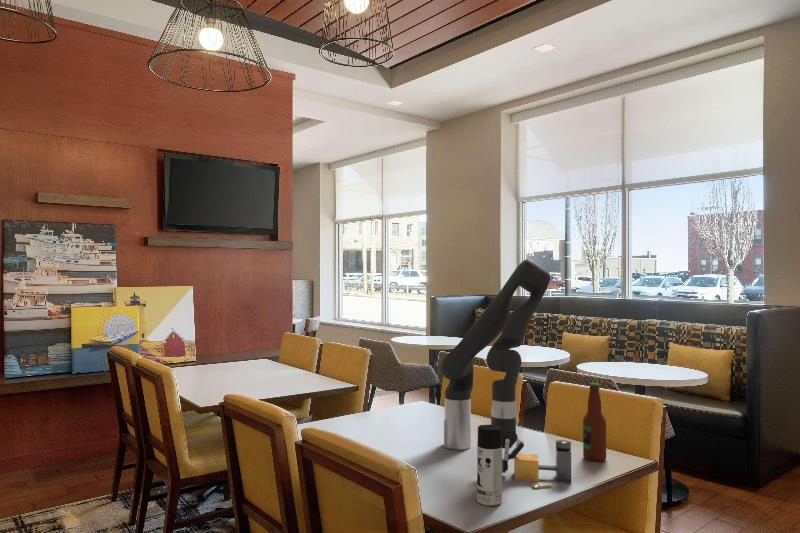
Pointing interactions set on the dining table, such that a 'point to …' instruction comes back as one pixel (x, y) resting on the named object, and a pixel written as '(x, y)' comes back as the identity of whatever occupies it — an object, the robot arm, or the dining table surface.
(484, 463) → the spray can
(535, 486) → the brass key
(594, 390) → the bottle
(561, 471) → the grey mallet
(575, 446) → the dining table surface
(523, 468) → the wooden block
